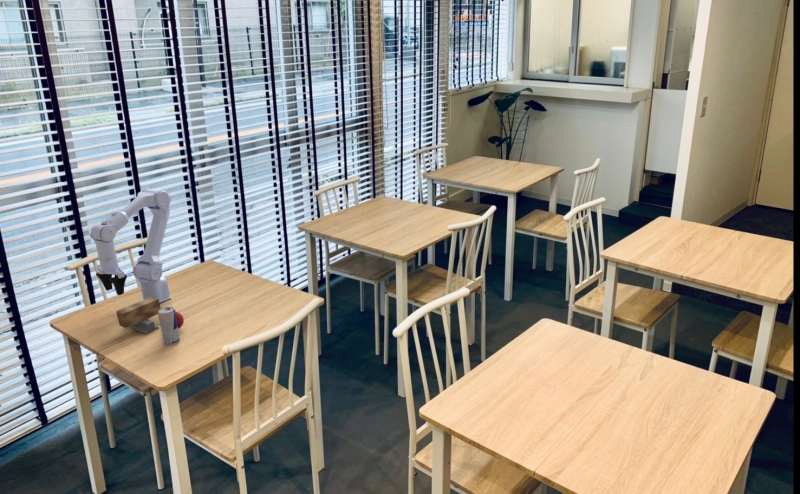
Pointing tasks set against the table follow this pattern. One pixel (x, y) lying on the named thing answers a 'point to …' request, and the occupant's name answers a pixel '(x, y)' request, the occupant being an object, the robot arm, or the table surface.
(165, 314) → the energy drink
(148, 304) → the batten
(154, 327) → the ridge
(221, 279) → the table surface
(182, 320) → the onion
